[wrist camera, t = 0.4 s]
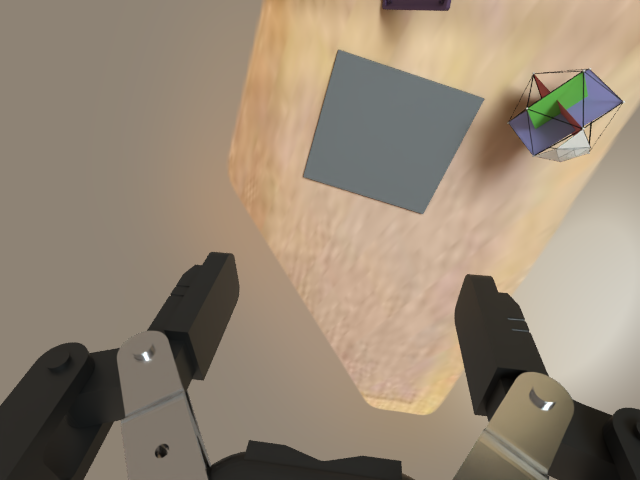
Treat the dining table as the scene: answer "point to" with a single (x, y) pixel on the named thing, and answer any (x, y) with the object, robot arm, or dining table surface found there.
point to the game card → (417, 5)
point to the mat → (387, 132)
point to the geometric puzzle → (564, 116)
